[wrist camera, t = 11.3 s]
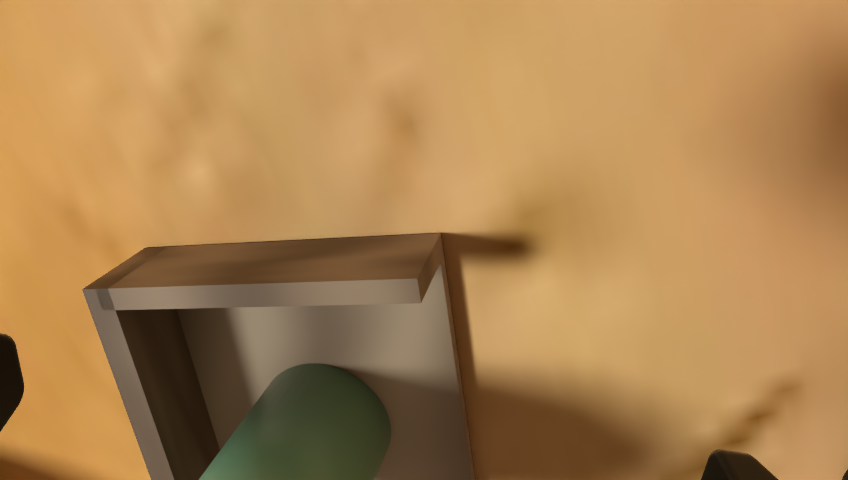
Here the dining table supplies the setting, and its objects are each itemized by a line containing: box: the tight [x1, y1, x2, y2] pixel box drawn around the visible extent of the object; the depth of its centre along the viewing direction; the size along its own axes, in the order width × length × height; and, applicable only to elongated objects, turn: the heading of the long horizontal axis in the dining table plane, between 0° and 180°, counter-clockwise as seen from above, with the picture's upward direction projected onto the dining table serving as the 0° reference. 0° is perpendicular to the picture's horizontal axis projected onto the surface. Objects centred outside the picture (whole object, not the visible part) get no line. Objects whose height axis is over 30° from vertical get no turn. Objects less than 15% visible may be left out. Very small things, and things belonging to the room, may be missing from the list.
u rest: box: [82, 233, 475, 480], centre depth 25 cm, size 12×15×4 cm
